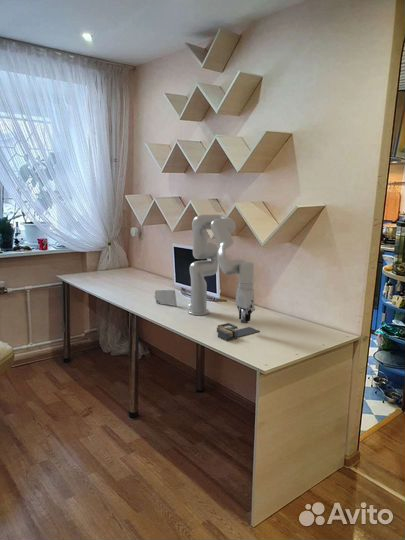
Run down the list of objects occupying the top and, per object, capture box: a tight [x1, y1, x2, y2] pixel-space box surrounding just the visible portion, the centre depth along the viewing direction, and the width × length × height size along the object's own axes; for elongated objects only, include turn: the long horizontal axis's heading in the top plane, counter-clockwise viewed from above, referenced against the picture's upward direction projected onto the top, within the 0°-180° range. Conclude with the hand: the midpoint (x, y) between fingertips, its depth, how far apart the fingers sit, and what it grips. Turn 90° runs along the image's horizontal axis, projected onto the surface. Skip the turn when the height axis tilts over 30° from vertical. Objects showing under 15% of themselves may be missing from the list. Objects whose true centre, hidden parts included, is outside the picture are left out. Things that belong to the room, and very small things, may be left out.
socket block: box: [217, 326, 238, 342], centre depth 206 cm, size 7×7×4 cm
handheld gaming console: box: [154, 288, 177, 307], centre depth 264 cm, size 11×3×15 cm
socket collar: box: [217, 322, 238, 330], centre depth 222 cm, size 8×8×1 cm
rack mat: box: [235, 326, 260, 338], centre depth 215 cm, size 8×15×1 cm, turn 127°
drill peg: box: [240, 308, 249, 325], centre depth 213 cm, size 4×4×9 cm
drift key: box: [216, 326, 233, 337], centre depth 208 cm, size 10×3×3 cm, turn 37°
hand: (244, 319), depth 214 cm, fingers closed on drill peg, 4 cm apart
